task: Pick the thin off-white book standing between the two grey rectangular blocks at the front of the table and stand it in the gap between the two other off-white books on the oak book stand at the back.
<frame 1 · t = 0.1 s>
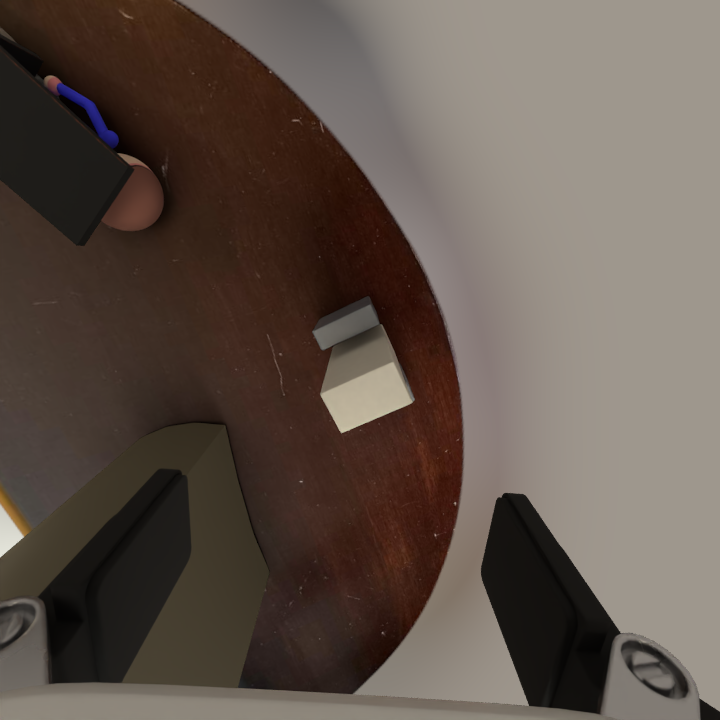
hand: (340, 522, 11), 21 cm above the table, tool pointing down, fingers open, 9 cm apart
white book: (364, 349, 31), on the table
book: (210, 503, 36), on the table
figurine character: (86, 148, 27), on the table
grey rectangular blocks: (364, 349, 31), on the table
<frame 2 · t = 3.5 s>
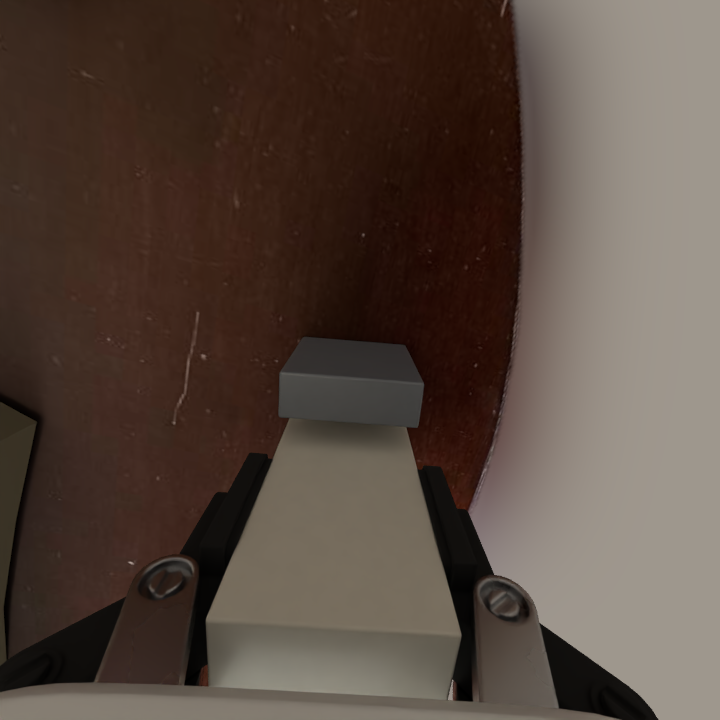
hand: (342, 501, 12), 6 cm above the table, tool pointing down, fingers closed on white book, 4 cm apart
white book: (347, 421, 17), on the table, touching gripper
grey rectangular blocks: (347, 421, 17), on the table
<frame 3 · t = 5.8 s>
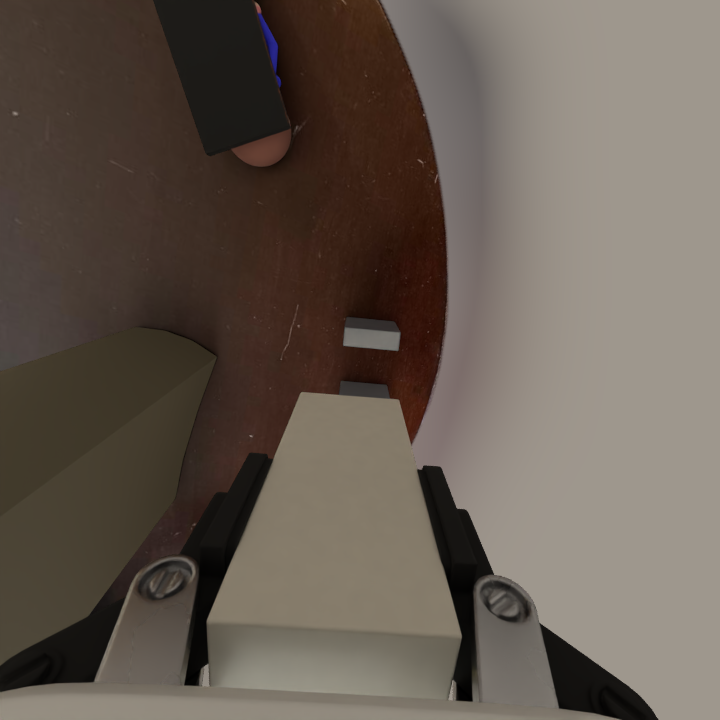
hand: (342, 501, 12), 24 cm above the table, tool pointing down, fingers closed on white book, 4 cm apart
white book: (347, 422, 17), point 18 cm above the table, touching gripper
book: (160, 414, 37), on the table
figurine character: (242, 70, 29), on the table
grey rectangular blocks: (366, 359, 36), on the table
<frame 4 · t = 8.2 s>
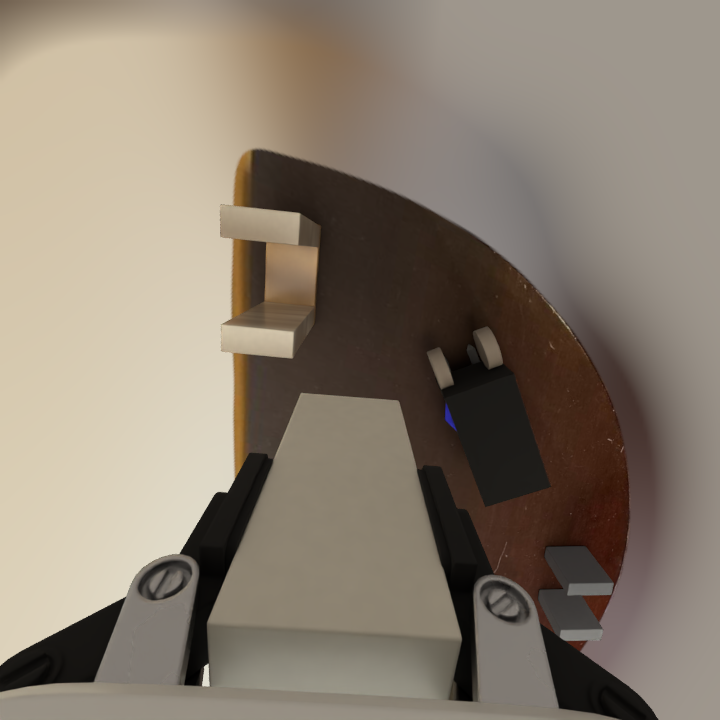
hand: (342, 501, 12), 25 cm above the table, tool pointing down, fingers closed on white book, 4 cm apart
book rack: (292, 274, 34), on the table
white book: (347, 423, 17), point 19 cm above the table, touching gripper
figurine character: (470, 397, 37), on the table
grey rectangular blocks: (560, 573, 44), on the table
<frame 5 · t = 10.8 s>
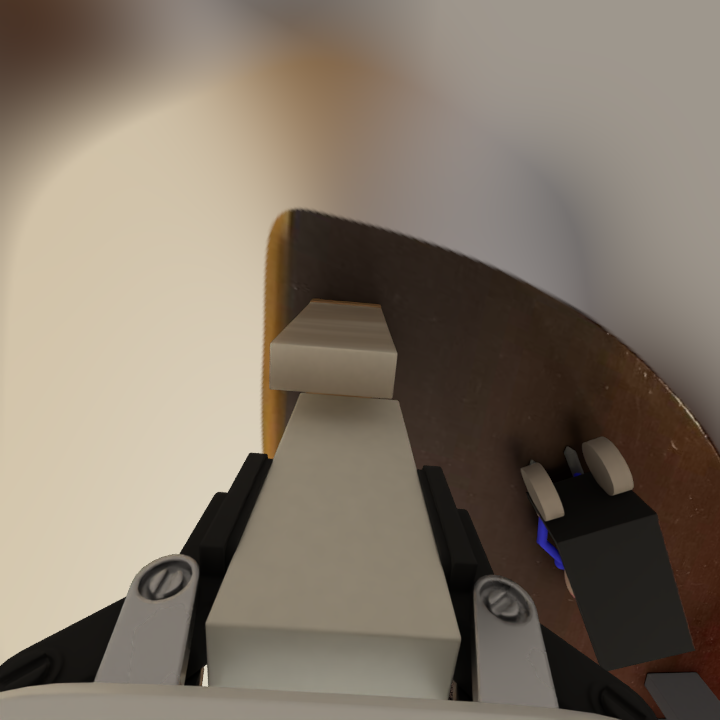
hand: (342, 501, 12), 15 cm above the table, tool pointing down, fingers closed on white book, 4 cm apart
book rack: (341, 364, 26), on the table
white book: (347, 423, 17), point 9 cm above the table, touching gripper
figurine character: (564, 506, 29), on the table
grey rectangular blocks: (663, 701, 36), on the table
when the fingers open (7 cm above the table, at t = 13.0 s): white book stays where it is, resting on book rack.
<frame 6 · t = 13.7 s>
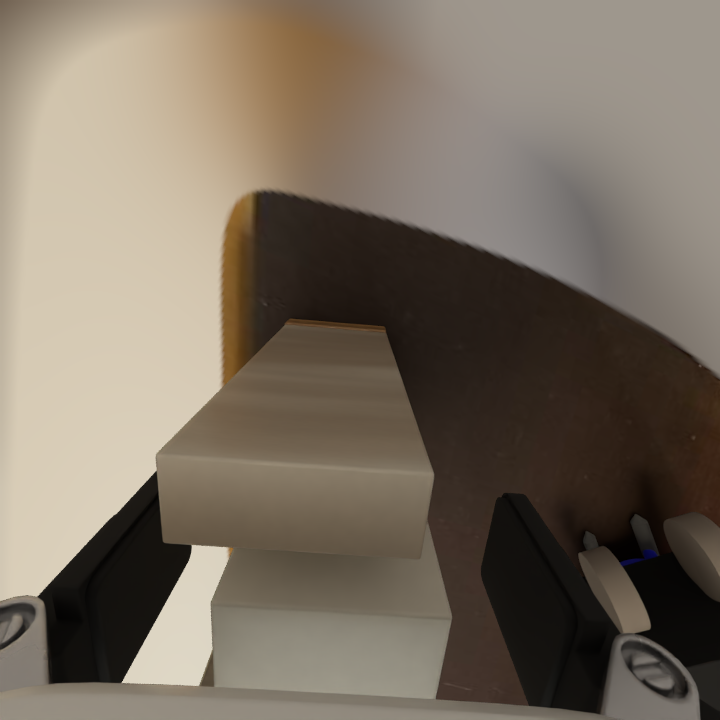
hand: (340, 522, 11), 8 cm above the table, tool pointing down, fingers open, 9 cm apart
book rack: (331, 408, 19), on the table
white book: (346, 419, 18), point 1 cm above the table, touching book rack
figurine character: (626, 587, 22), on the table
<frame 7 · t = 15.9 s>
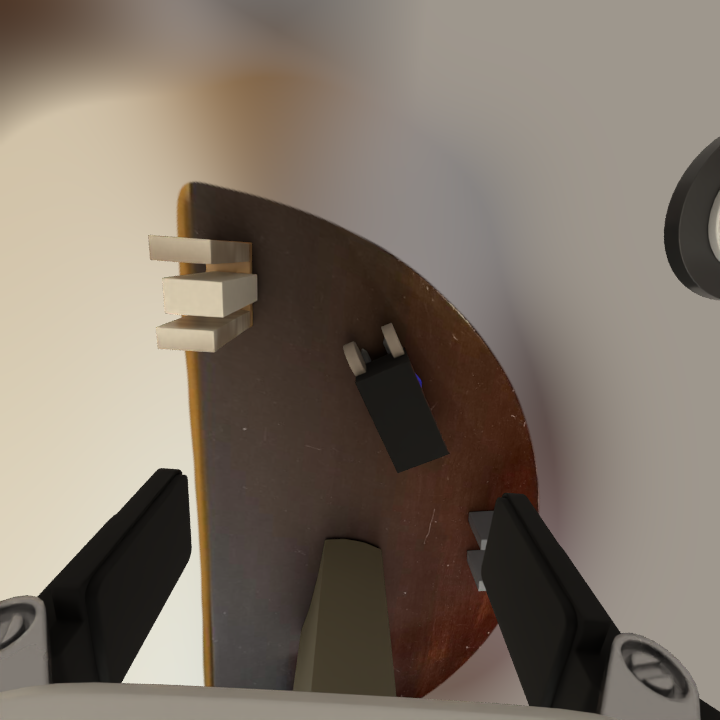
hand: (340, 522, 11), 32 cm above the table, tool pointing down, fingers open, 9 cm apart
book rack: (231, 284, 40), on the table
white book: (235, 286, 39), point 1 cm above the table, touching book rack
book: (340, 587, 53), on the table
figurine character: (391, 383, 44), on the table
grey rectangular blocks: (484, 535, 50), on the table
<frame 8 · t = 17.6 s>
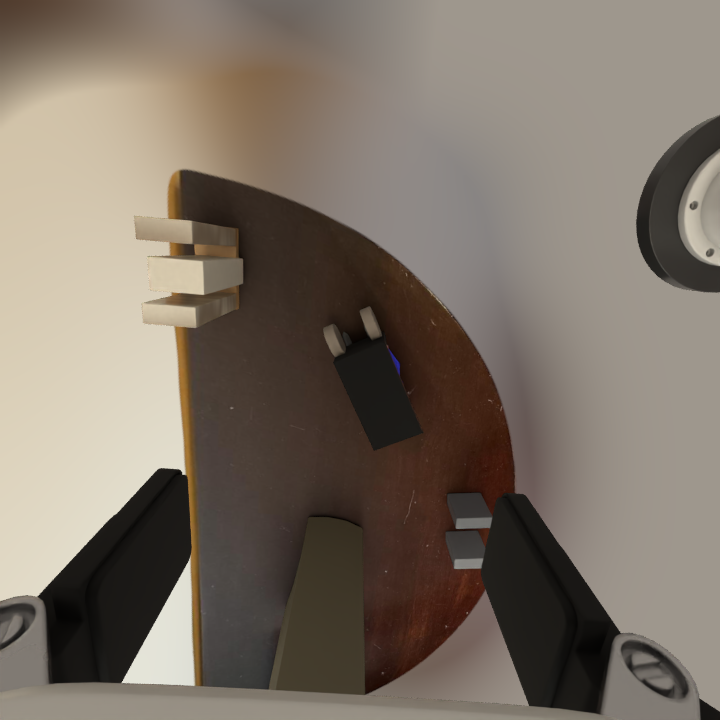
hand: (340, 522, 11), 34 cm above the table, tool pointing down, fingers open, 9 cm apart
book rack: (219, 268, 42), on the table
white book: (222, 269, 41), point 1 cm above the table, touching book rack
book: (323, 564, 55), on the table
figurine character: (372, 366, 46), on the table
grey rectangular blocks: (462, 516, 52), on the table
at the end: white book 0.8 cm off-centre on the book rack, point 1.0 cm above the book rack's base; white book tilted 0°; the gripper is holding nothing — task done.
